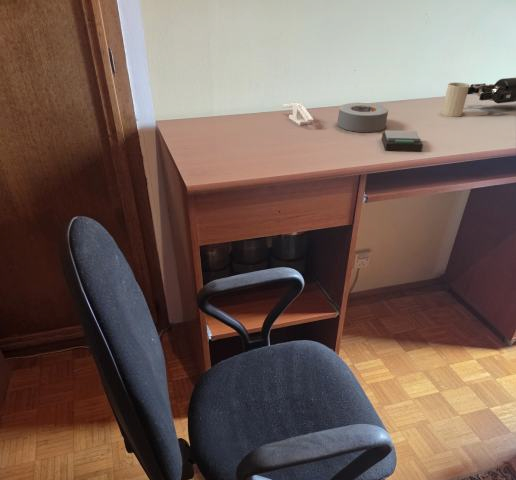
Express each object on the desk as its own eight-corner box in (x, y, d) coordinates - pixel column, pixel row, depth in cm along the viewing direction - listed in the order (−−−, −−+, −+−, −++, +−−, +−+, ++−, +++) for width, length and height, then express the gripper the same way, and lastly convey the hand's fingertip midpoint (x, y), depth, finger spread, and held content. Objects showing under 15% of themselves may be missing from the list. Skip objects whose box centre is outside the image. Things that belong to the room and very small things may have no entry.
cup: (458, 111, 157) (466, 82, 151) (463, 117, 152) (471, 87, 146) (439, 111, 158) (446, 82, 152) (443, 116, 153) (451, 86, 147)
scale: (415, 140, 134) (417, 130, 132) (421, 151, 126) (423, 141, 124) (381, 139, 134) (383, 129, 133) (385, 150, 127) (387, 140, 125)
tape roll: (381, 119, 151) (384, 102, 147) (389, 133, 139) (392, 115, 136) (335, 118, 151) (337, 102, 148) (339, 132, 140) (341, 114, 137)
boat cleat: (293, 112, 157) (294, 95, 154) (318, 128, 143) (319, 109, 140) (282, 113, 156) (283, 96, 153) (306, 129, 142) (308, 110, 139)
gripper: (499, 74, 159) (461, 77, 155) (530, 82, 149) (490, 85, 145) (492, 97, 164) (455, 101, 160) (521, 107, 154) (482, 111, 150)
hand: (472, 93), depth 152 cm, fingers open, 8 cm apart
